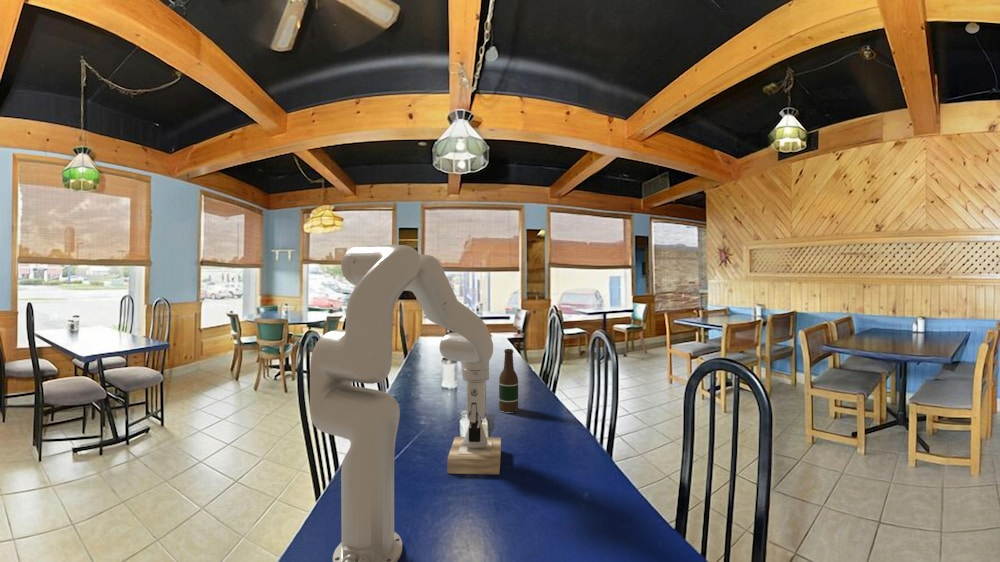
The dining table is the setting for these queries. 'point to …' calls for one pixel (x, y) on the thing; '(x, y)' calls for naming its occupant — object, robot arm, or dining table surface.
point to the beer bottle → (508, 385)
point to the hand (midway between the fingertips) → (475, 436)
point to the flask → (476, 444)
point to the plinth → (474, 457)
